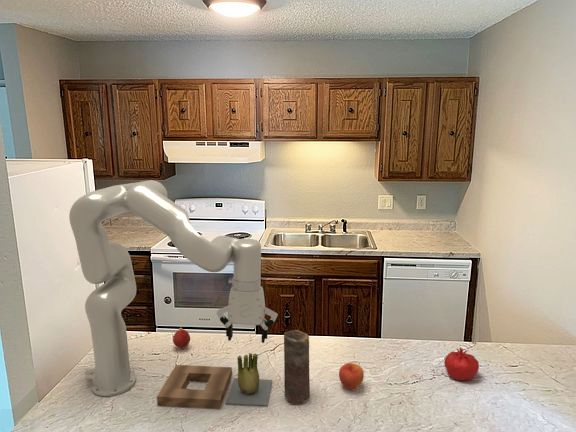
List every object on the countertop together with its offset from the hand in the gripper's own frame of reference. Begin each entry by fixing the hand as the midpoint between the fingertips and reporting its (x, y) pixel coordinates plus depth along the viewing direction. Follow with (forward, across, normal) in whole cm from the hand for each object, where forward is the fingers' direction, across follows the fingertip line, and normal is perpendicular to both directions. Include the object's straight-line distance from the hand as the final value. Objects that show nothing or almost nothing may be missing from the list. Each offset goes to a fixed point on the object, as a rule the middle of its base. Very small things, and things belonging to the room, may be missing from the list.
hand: (246, 339), depth 122 cm
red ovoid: (+18, -27, +23) cm, 40 cm away
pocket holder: (+18, -15, 0) cm, 23 cm away
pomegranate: (+16, +66, +14) cm, 69 cm away
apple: (+17, +31, +5) cm, 36 cm away
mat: (+17, +1, 0) cm, 17 cm away
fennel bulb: (+17, +1, 0) cm, 17 cm away
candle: (+17, +15, -1) cm, 23 cm away
